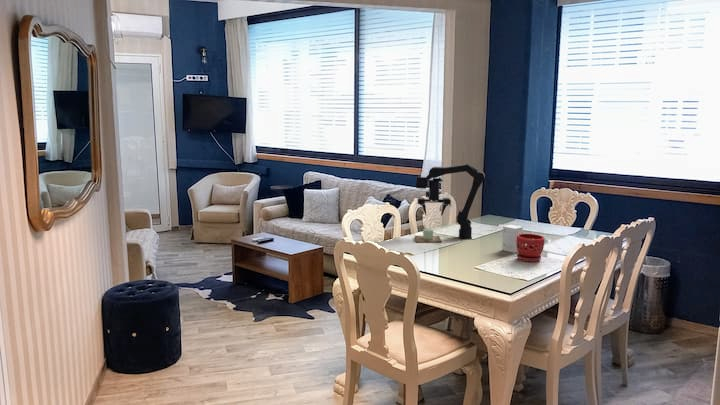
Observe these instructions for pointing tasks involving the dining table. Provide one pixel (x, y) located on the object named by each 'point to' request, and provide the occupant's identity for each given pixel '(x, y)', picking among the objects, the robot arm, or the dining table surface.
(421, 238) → the walnut board
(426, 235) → the green cube
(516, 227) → the small box
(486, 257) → the dining table surface
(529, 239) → the plant pot
